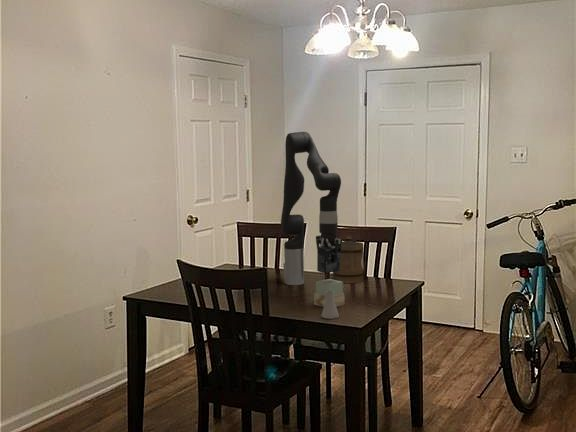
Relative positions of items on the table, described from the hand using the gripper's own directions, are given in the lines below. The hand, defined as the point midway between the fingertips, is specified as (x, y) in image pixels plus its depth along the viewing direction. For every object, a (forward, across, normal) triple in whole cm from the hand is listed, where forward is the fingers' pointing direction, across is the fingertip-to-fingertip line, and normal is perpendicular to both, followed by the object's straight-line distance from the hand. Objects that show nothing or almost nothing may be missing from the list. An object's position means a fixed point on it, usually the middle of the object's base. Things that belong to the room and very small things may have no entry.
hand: (328, 261), depth 270 cm
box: (+4, 0, 0) cm, 4 cm away
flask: (+18, +14, -12) cm, 26 cm away
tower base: (+18, 0, 0) cm, 18 cm away
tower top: (+13, 0, 0) cm, 13 cm away
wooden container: (+19, -29, +38) cm, 51 cm away
